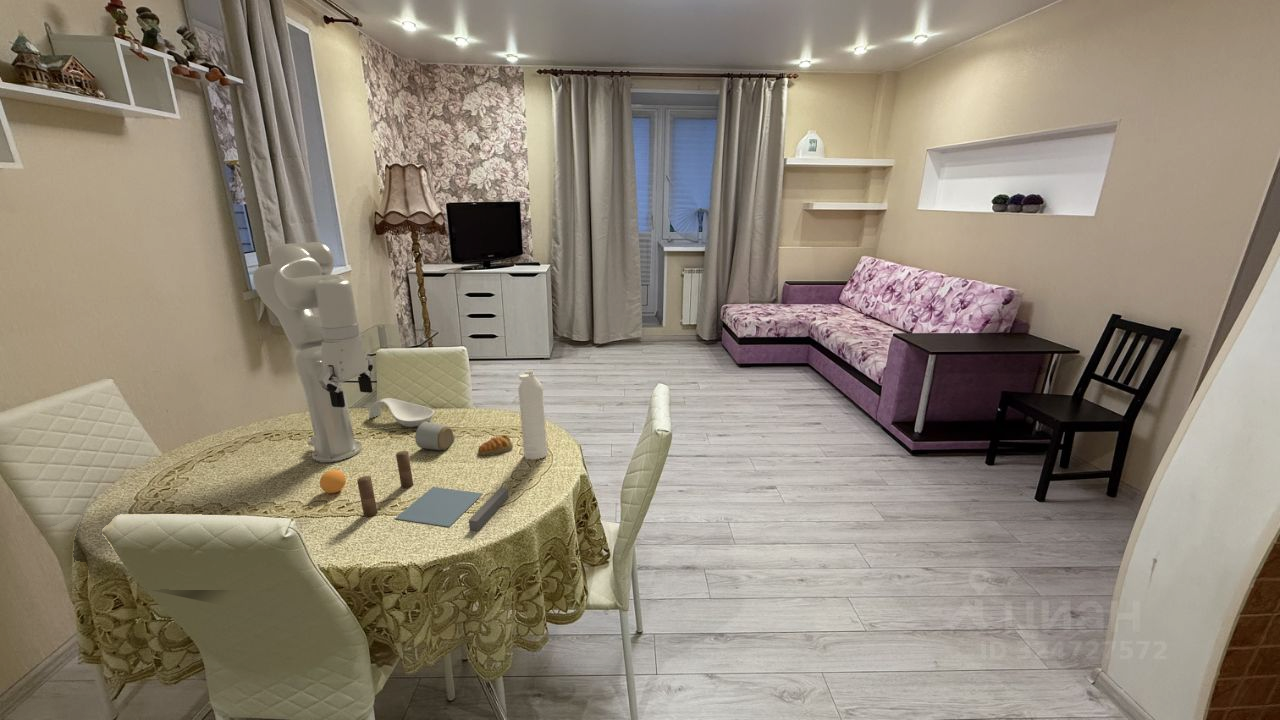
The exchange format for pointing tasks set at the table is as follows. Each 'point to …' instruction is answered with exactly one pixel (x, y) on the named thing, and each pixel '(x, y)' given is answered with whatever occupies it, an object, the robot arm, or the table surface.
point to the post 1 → (367, 496)
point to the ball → (332, 481)
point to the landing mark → (439, 506)
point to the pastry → (496, 445)
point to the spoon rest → (403, 412)
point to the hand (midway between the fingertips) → (353, 399)
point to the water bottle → (532, 416)
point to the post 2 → (404, 469)
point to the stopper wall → (488, 509)
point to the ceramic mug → (434, 436)
